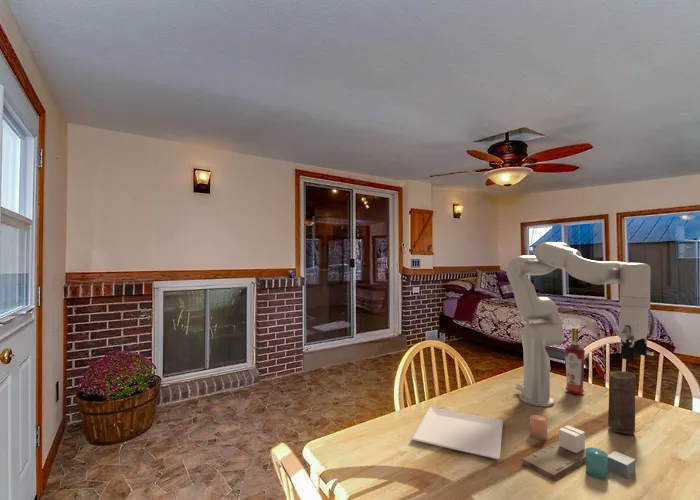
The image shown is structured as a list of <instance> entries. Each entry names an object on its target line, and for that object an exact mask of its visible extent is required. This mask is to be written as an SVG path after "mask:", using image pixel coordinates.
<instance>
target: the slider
mask: <svg viewBox="0 0 700 500" xmlns="http://www.w3.org/2000/svg"><path fill="white" fill-rule="evenodd" d="M558 441H559V446H561V447H563V448H565V449H567V450H570V451H572V452H574V453H578V452H580V451H582V450H583V449H586V432H585V431H583V430H580V429H579V428H576V427H573V426H571V425H569V424H568V425H564V426H562V427H561V428H559V429H558Z"/></svg>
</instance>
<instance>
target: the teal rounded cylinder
mask: <svg viewBox="0 0 700 500" xmlns="http://www.w3.org/2000/svg"><path fill="white" fill-rule="evenodd" d="M585 449H586V462H585V473H586V474H587V475H588V476H589V477H591V478H592V479H595V480H600V481H606V480H608V477H609V475H608V474H609V473H608V472H609V471H608V455H609V454H608V453H607V452H606V451H604V450H603V449H600V448H598V447H585Z"/></svg>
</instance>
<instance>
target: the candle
mask: <svg viewBox="0 0 700 500" xmlns="http://www.w3.org/2000/svg"><path fill="white" fill-rule="evenodd" d="M608 376H609V378H608V379H609V380H608V381H609V382H608V413H607V426H608V427H609V428H610V429H611V430H612V431H613V432H615V433H620V434H626V435H627V434H629V435H631V434H635V432H636V380H637V379H636V374H634V373H633V372H632V373H631V372H629V371H624V370H623V371H622V370H617V371H610V372H609V375H608Z"/></svg>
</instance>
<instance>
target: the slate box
mask: <svg viewBox="0 0 700 500" xmlns="http://www.w3.org/2000/svg"><path fill="white" fill-rule="evenodd" d="M607 455H608V472H610V473H612V474H614V475H616V476H619V477H621V478H623V479H625V480H629V479H630V478H631V477H633V476H635V474H636V458H633V457H630V456H627V455H625V454H623V453H620V452H619V451H616V450H614V451H612V452H611V453H609V454H607Z"/></svg>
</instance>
